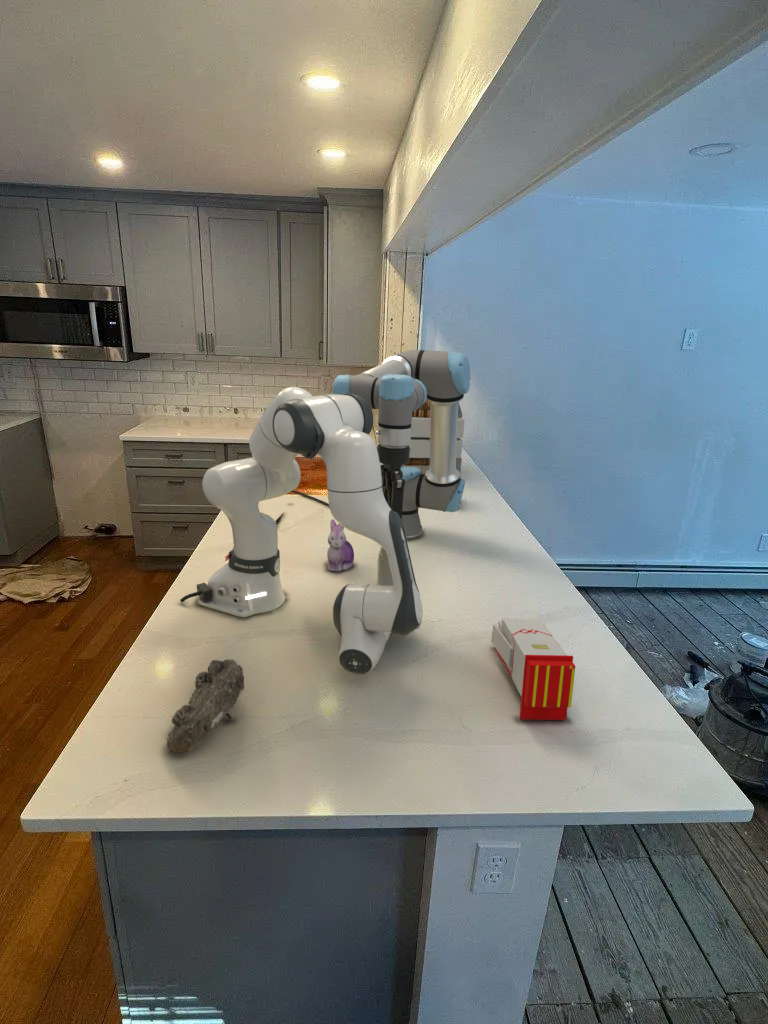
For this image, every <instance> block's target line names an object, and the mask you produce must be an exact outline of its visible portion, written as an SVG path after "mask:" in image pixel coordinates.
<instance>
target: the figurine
mask: <svg viewBox="0 0 768 1024" xmlns="http://www.w3.org/2000/svg"><path fill="white" fill-rule="evenodd" d="M329 524H330V525H329V526H330V532H329V534H328V536H327V543H328V545H329V547H328V548H327V552H326V553H327V555H326V556H327V562H326V565H327V570H328V571H332V572H341V571H346V570H348V569H350V568H352V567H353V566H354V560H355V551H354V548H353V545H352V544H351V542H349V541H348V540H347V535H346V534H345V532H344V529H345V527H343V526H342V525H341V524H340V523H338V524H337V523H336V520H335V518H332V519H330V523H329Z"/></svg>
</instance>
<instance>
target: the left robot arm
mask: <svg viewBox="0 0 768 1024" xmlns="http://www.w3.org/2000/svg"><path fill="white" fill-rule="evenodd" d="M373 426H374V413H373V409H371V407H370V405H369V403H368V402H367V401H366V400H365V399H364V398H362V397H360V396H357V395H353V394H341V395H338V394H333V393H332V394H331V393H327V394H319V395H312V393H311V392H309V391H308V390H306V389H304V388H302V387H299V386H289V387H285V388H283V389H282V390H281V391H280V392H278V393H277V394H276V395H275V397H274V398H273V399H272V400H271V401H270V403H269V404H268V406H267V407H266V408H265V410H264V412H262V415H261V417H259V420H258V422H257V423H256V426H255V428H254V429H253V432H252V433H251V435H250V437H249V442H248V446H249V451H250V454H251V457H246V458H242V459H235V460H229V461H225V462H221V463H220V464H217V465H215V466H212V467H210V468H208V469H207V470H206V471H205V473H204V475H203V477H202V483H201V484H202V485H201V488H202V492H203V495H204V497H205V499H206V500H207V501H208V503H210V504H211V505H212V506H213V507H215V508H217V509H218V510H220V511H222V512H223V513H224V515H225V516H226V517H227V519H228V521H229V523H230V526H231V532H232V541H233V547H232V549H231V550H230V551H228V554H227V555H225V556H224V559H225V560H224V561H225V562H227V561H228V562H227V563H225V564H224V565H223V566H221V567H220V568H218V569H217V570H216V571H215V572H213V574H211V576H210V577H209V578H208V581H207V583H206V582H201V583H198V584H196V591H195V592H192V593H189V594H186V595H184V596H183V597H182V598H180V599H179V601H180V602H181V603H184V602H185V601H186V600H188V599H190V598H194V597H198V598H197V599H198V600H197V602H198V603H197V604H198V605H200V606H202V607H205V608H209V609H211V610H212V609H213V610H215V611H219V612H222V613H226V614H230V615H233V616H236V617H240V618H248V617H250V616H253V615H257V614H262V613H268V612H271V611H274V610H276V609H279V608H280V607H281V606H282V605H284V603H285V601H286V596H285V593H284V590H283V586H282V581H281V576H280V575H281V574H280V571H281V554H280V549H279V541H278V540H279V537H278V524H276V522H275V521H276V520H275V519H274V518H273V517H272V516H270V515H269V514H266V513H264V512H261V511H260V507H259V506H260V505H259V503H260V502H262V501H267V500H271V499H275V498H279V497H283V496H285V495H287V494H288V493H292V492H291V491H293V490H294V491H295V490H296V489H297V488H298V487H299V485H300V483H301V478H302V477H301V476H302V473H301V467H300V466H299V463H298V462H297V460H296V458H297V456H298V455H301V456H302V457H304V458H305V459H308V460H312V459H314V458H315V457H316V456H317V455H318V456H319V457H320V458H321V459H322V460H323V462H324V464H325V469H326V487H327V488H326V489H327V500H328V504H329V506H328V507H329V511H330V514H331V516H332V517H333V519H334V520H335V522H337V523H338V524H339V523H340V524H341V525H342V526H343V527H344V529H347V530H348V531H350V532H352V533H355V534H357V535H361V536H363V537H365V538H367V539H370V540H372V541H373V542H374V543H377V544H378V545H379V546H380V547H381V546H382V547H383V548H384V550H385V551H386V553H387V556H388V560H389V565H390V569H391V574H392V578H393V583H394V586H386V585H377V584H369V583H347V584H346V585H345V586H343V587H342V588H341V590H340V591H339V592H338V593H337V595H336V597H335V599H334V603H333V606H332V619H333V625H334V627H335V629H336V631H337V633H338V635H339V636H340V637H341V640H340V646H339V649H338V657H337V658H338V662H339V664H340V666H341V667H342V668H343V669H344V670H345V671H347V672H348V673H351V674H356V675H365V674H368V673H370V672H371V671H372V670H374V668H375V667H376V666H377V664H378V663H379V661H380V660H381V658H382V655H383V653H384V651H385V647H386V644H387V642H388V641H389V638H390V636H391V634H395V635H401V636H408V635H410V634H411V633H413V632H414V631H416V630H417V631H418V630H419V629H420V628H421V627H420V626H421V624H422V620H423V616H424V606H423V605H424V604H423V601H422V598H421V594H420V591H419V588H418V584H417V581H416V577H415V571H414V567H413V562H412V558H411V553H410V548H409V544H408V540H407V539H406V535H405V531H404V527H403V524H402V521H401V519H400V516H399V514H398V513H397V512H395V511H393V510H391V508H390V507H389V505H388V504H387V502H386V500H385V497H384V494H383V489H382V474H381V463H380V460H379V455H378V451H377V443H376V441H375V439H374V438H373V437H372V436H371V435H370V434H371V432H372V429H373Z"/></svg>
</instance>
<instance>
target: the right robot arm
mask: <svg viewBox="0 0 768 1024" xmlns="http://www.w3.org/2000/svg"><path fill="white" fill-rule="evenodd" d="M470 366H471V365H470V361H469V358H468V357H467V355H466V354H465V353H463V352H455V351H451V350H450V351H445V350H428V349H427V350H426V349H412V350H411V349H410V350H406V351H402V352H401V351H400V352H398V353H395V354H392V355H390V356H388V357H387V358H385V359H384V360H383V361H382V362H381V364H379V365H377V366H374V367H372V368H370V369H368V370H365V371H362V372H361V373H359V374H356V375H351V374H339V375H337V376H336V377H335V379H334V381H333V385H332V394H338V395H341V394H353V395H357V396H360V397H362V398H364V399H365V400H366V401H367V402H368V403H369V405H370V407H371V410H378V414H377V415H378V417H377V418H378V419H377V430H375V435H377V443H378V445H376V447H377V451H378V455H379V460H380V466H381V474H382V489H383V494H384V497H385V500H386V502H387V504H388V505H389V507H390V508H391V510H393V511H395V512H397V513H398V514H399V516H400V519H401V521H402V524H403V527H404V531H405V535H406V539H407V541H410V540H415V539H418V538H420V537H421V536H422V535H423V525H422V524H421V518H420V515H419V509H425V510H433V511H439V512H440V511H441V512H443V513H446V512H447V513H456V512H457V511H458V510H459V508H460V505H461V504H460V502H461V503H462V498H463V494H464V490H465V484H466V480H465V479H464V478H462V477H461V474H460V472H459V471H458V470H457V469H456V450H457V426H458V403H459V404H460V402H461V401H463V399H464V398H465V397H464V396H465V395H466V394H468V393H469V391H470V388H471V367H470ZM426 399H427V400H429V401H430V466H429V468H428V469H427V470H426V471H425V473H422V469H421V468H419V467H417V466H404V467H402V468H401V465H403V464H406V463H408V462H409V457H410V447H409V446H408V445H409V444H410V443H411V421H412V412H413V411H416V410H418V409H420V407H421V406H422V405H423V404H424V402H425V401H426ZM290 493H294V494H297V495H300V496H303V497H305V498H308V499H310V500H313V501H316V502H318V503H320V504H323V505H325V506H327V507H329V502H326V501H323V500H321V499H318V498H316V497H313V496H311V495H309V494H306V493H304V492H300V491H297V490H295V489H294V490H293V491H291V492H290Z"/></svg>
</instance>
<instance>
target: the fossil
mask: <svg viewBox="0 0 768 1024" xmlns="http://www.w3.org/2000/svg"><path fill="white" fill-rule="evenodd" d="M243 670H244V669H243V667H242V665H240V664H237V662H236V661H235V660H234V659H232V658H231V659H227V658H226V659H224V660H223V661H222V660H217V659H212V660H211V661H210V663H209V665H208V666H207V671H201V672H199V673H198V674H197V675H196V676H195V680H194V684H195V685H194V687H195V689H194V690H193V693H192V694H191V697H190V698H189V700H188V704H184V705H182V706H181V707H180V709H177V710H176V711H175V713H174V715H173V716H172V718H171V723H172V724H173V727H172V730H171V731H170V732H168V734H167V738H166V741H167V742H166V745H167V749H168V750H169V751H173V752H174V753H176V754H178V753H182V752H188V751H189V752H192V751H193V750H195V748H196V747H197V746H199V744H200V743H201V742H203V741H204V740H205V739H206V738H207V737H208V736H209V735H210V734H211V733H212V732H214V730H215V729H217V727H218V726H219V724H220V722H221V721H222V720H223V719H224V718H225V716H226V717H227V719H229V720H233V717H232V715H230V714H229V710H230V709H231V708H234V706H235V704H236V703H237V702H238V699H239V697H240V695H241V693H242V691H243V690H245V689H244V688H245V675H244V671H243Z"/></svg>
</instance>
